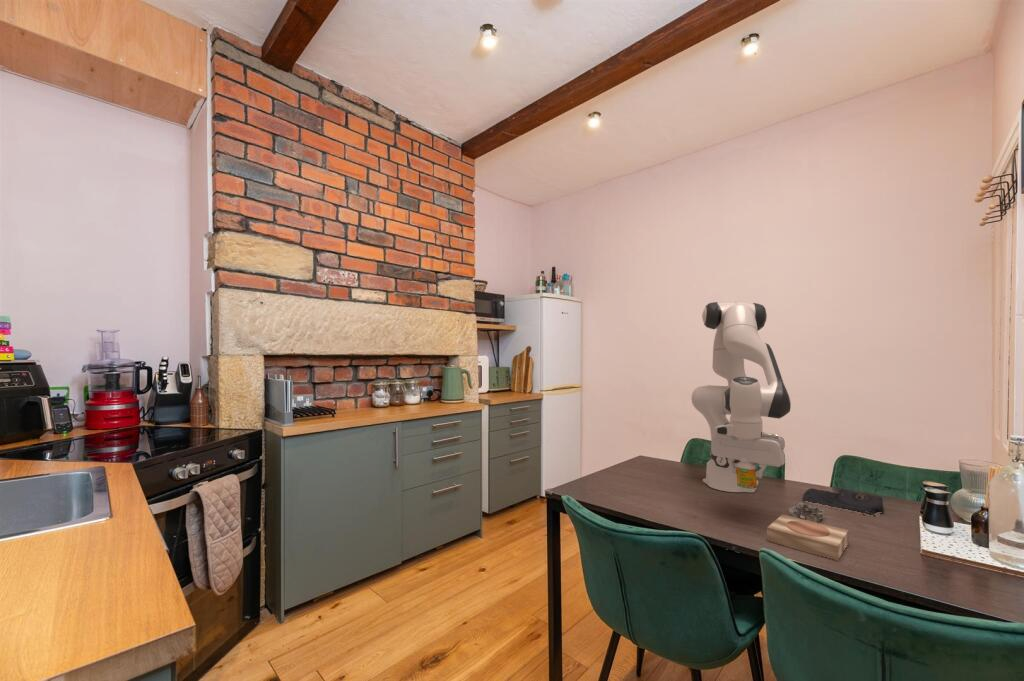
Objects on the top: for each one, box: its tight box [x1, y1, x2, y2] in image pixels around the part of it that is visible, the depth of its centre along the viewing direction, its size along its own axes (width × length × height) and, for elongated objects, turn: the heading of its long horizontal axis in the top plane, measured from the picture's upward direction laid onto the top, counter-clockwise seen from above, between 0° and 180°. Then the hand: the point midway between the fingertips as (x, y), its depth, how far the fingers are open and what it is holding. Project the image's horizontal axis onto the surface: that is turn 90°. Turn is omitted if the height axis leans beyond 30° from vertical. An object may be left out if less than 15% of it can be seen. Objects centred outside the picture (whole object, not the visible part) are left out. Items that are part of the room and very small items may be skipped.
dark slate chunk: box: [802, 487, 884, 515], centre depth 150 cm, size 15×22×5 cm
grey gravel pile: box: [788, 501, 825, 523], centre depth 137 cm, size 11×8×4 cm
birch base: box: [766, 514, 850, 561], centre depth 120 cm, size 14×16×4 cm
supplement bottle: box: [737, 457, 758, 491], centre depth 134 cm, size 5×5×10 cm
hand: (746, 475), depth 134 cm, fingers closed on supplement bottle, 5 cm apart
